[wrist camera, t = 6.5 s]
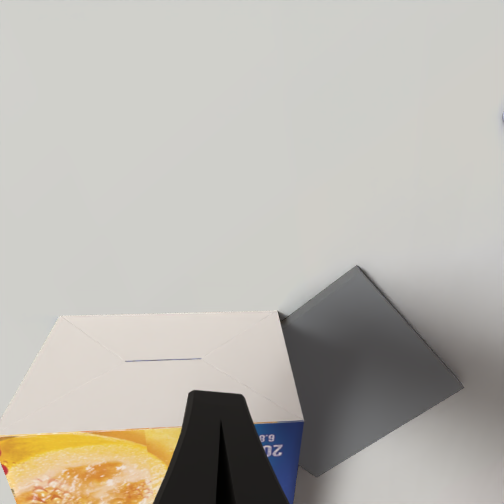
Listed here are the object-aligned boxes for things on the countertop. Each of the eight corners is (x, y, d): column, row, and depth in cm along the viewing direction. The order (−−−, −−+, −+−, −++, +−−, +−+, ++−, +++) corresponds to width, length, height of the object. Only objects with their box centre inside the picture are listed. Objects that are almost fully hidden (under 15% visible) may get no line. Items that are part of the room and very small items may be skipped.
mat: (458, 380, 24) (463, 387, 23) (314, 468, 27) (316, 477, 26) (356, 265, 20) (360, 271, 19) (196, 385, 22) (196, 393, 22)
